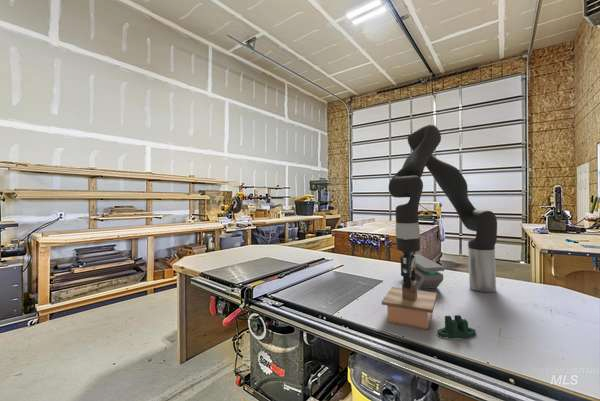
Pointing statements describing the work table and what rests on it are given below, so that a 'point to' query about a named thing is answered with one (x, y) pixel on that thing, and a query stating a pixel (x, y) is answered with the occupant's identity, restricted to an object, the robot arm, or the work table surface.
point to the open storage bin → (409, 317)
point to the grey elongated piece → (427, 273)
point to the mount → (456, 328)
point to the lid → (410, 298)
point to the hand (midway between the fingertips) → (409, 284)
